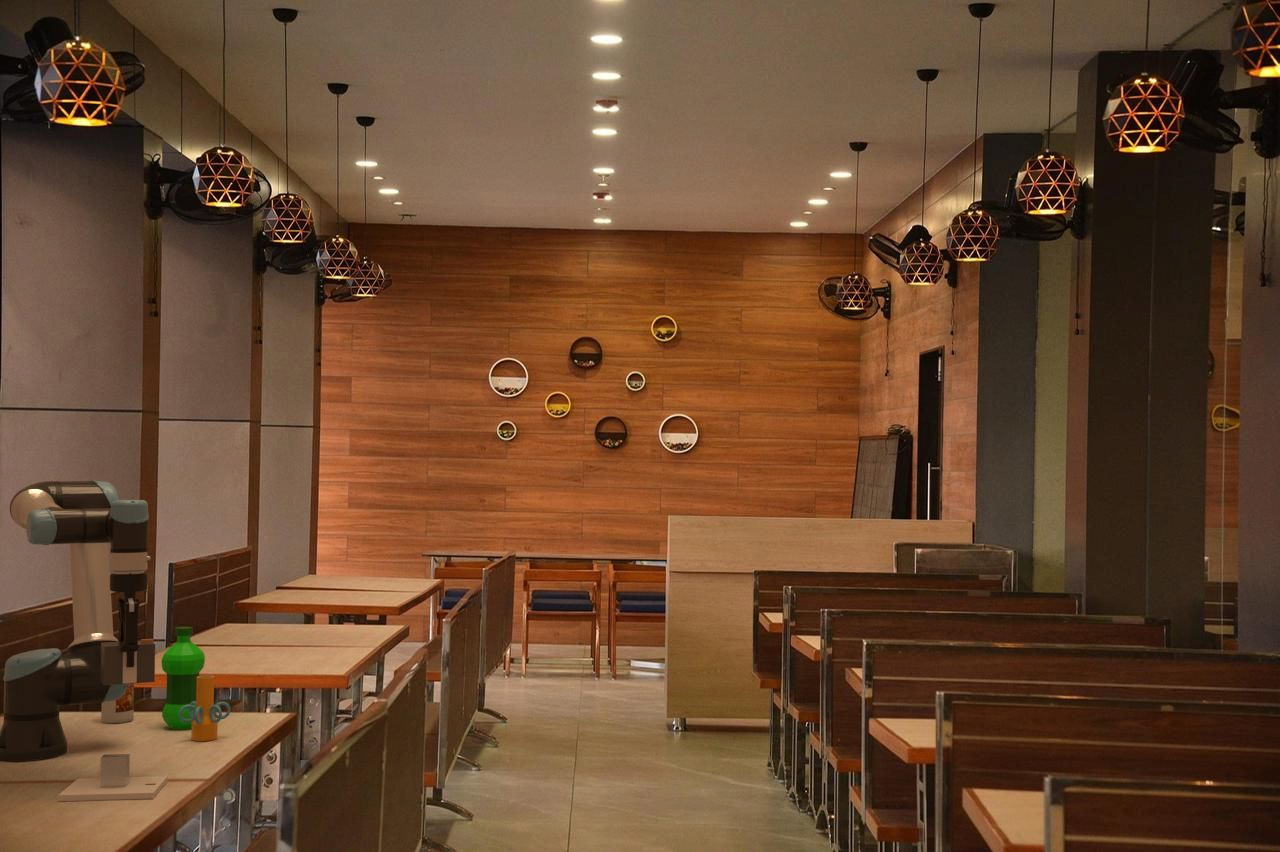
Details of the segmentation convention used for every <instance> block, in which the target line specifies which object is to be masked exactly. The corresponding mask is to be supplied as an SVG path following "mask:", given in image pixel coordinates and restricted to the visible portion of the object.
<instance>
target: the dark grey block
mask: <svg viewBox="0 0 1280 852" xmlns="http://www.w3.org/2000/svg"><path fill="white" fill-rule="evenodd" d="M122 648H124V641H123V642H104V643H101V682H102V683H103V685H117V684H132V683H122V682H123V652H120V649H122ZM155 668H156V643H154V639H153V638H144V639H143V638H142V639H140V640H138V649H137V683H136V684H143V683H145V684H146V683H147V684H148V683H155V682H156V680H155V677H156V675H155V674H156V669H155Z"/></svg>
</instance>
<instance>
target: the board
mask: <svg viewBox="0 0 1280 852" xmlns="http://www.w3.org/2000/svg"><path fill="white" fill-rule="evenodd" d="M130 755H131V754H130V753H121V754H119V753H117V754H110V753H109V754H103V755H102V756H101V757H100V766H99V767H100V768H99V769H100V773H99V774H100V777H83V778H81V777H80V778H79V777H78V778H77V779H75V780H74V781H73V782H71V784H69V785H68V787H66V788H65V789H63V791H62V792H60V794H59V793H58V795H57V796H58V798H57V799H58V802H83V801H84V802H85V801H86V802H87V801H117V800H118V801H121V800H124V801H125V800H153V799H155V797H157V795H158V794H159V793H160V791H162V789H163V788H164V787H165V786H166V785H167V784H168V781H169V777H168V775H165V776H164V775H161V776H157V775H156V776H130V765H131V763H130V760H131V758H130Z"/></svg>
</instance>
